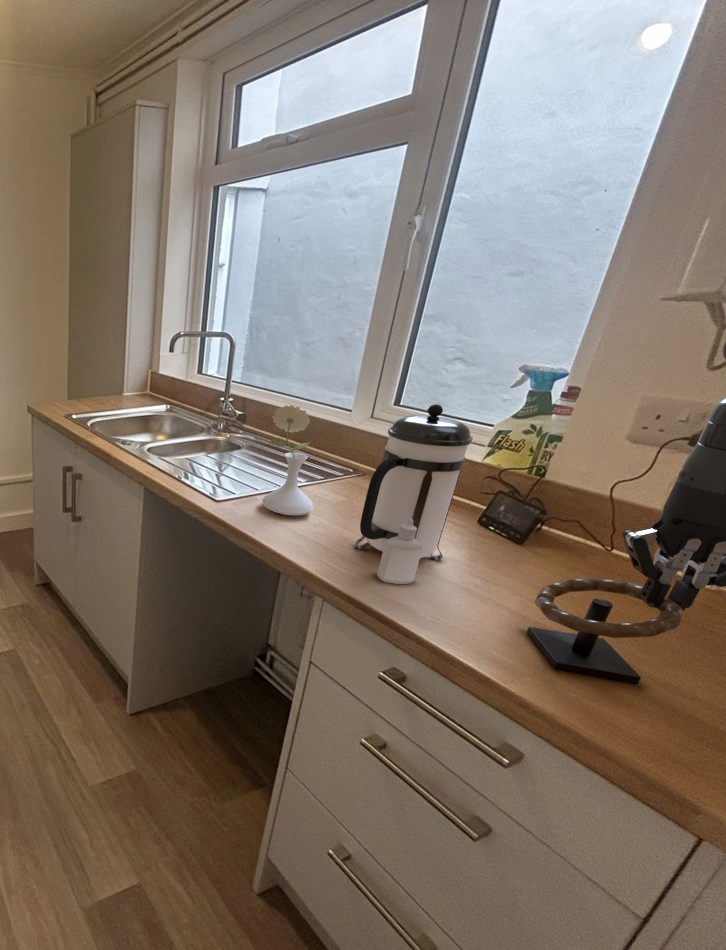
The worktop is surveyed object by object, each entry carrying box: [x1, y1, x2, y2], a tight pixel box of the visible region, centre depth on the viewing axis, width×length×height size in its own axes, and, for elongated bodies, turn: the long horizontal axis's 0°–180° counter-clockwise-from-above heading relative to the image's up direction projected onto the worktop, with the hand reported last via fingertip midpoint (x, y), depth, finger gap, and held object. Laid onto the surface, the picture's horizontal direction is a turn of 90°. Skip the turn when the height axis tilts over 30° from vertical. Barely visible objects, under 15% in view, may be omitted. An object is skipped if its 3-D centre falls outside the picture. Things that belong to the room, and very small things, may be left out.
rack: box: [526, 598, 642, 685], centre depth 74 cm, size 9×9×9 cm
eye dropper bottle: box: [376, 519, 423, 585], centre depth 94 cm, size 4×6×12 cm
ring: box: [534, 577, 683, 639], centre depth 72 cm, size 14×14×2 cm
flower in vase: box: [262, 404, 315, 516], centre depth 122 cm, size 13×11×25 cm
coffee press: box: [355, 403, 473, 561], centre depth 99 cm, size 17×16×30 cm
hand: (662, 606), depth 70 cm, fingers closed on ring, 2 cm apart
